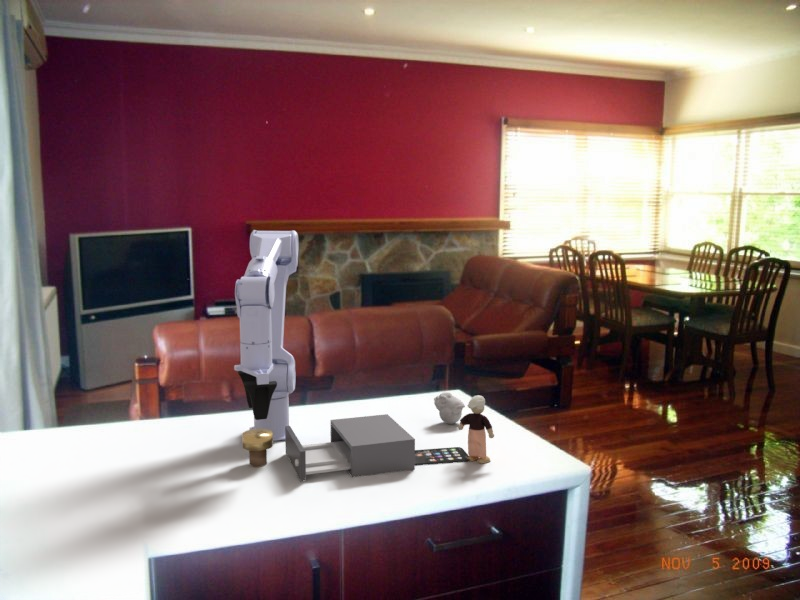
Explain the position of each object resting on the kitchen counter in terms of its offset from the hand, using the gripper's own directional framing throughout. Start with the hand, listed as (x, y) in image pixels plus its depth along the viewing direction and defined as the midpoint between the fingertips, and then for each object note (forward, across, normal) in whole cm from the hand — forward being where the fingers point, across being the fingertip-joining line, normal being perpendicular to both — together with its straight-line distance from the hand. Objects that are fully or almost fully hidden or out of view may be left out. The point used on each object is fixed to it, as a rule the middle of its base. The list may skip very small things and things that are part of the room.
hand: (257, 412), depth 129 cm
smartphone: (+10, +7, +32) cm, 34 cm away
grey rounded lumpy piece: (+10, -11, +44) cm, 46 cm away
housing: (+10, +4, +21) cm, 24 cm away
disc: (+6, 0, 0) cm, 6 cm away
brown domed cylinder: (+10, 0, 0) cm, 10 cm away
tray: (+10, +4, +11) cm, 15 cm away
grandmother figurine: (+10, +11, +40) cm, 43 cm away
